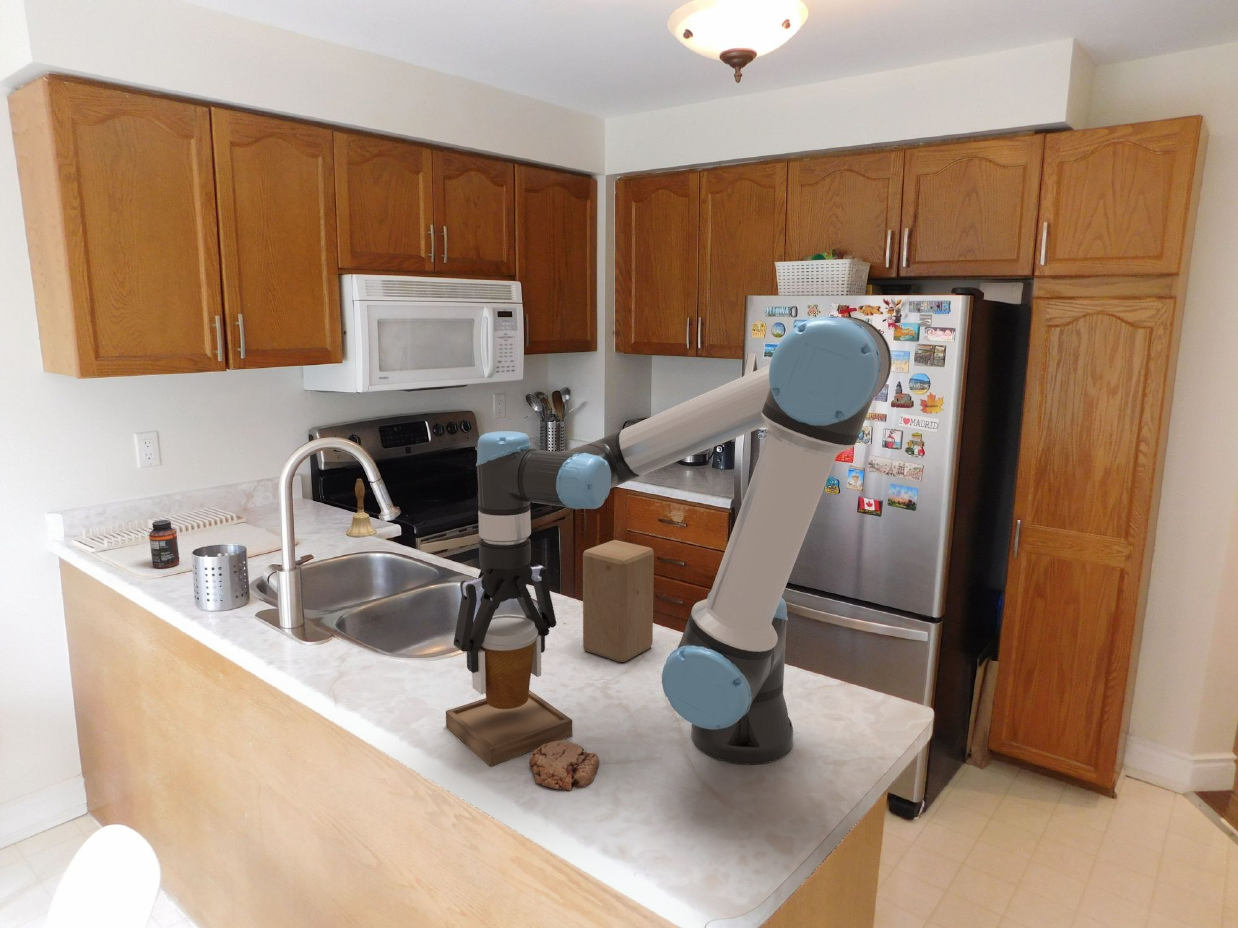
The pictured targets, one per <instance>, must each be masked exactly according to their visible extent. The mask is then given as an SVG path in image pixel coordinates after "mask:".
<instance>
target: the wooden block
mask: <svg viewBox="0 0 1238 928" xmlns="http://www.w3.org/2000/svg"><path fill="white" fill-rule="evenodd" d="M654 567H655V551H654V549H653V548H652V547H650V546H644V545H641V544H636V543H630V542H626V541H622V540H617V539H613V540H610V541H607V542H605V543H602V544H599V545H596V546H593V547H590V548H587V549H586V550H584V551H583V553H582V647H583V649H584V651H586V652H589V653H591V654H594V655H598V656H601V657H603V658H607V659H610V660H613V661H616V662H620V663H624V662H627V661H629V660H631V659H632V658H634V657H637V656H638V655H640V654H641V653H644V652H645V651H647V650H649V649H650V648H651V647H652V645H653V636H654V635H653V633H654V629H653V628H654V627H653V626H654V575H655V574H654V573H655V571H654V569H655V568H654Z"/></svg>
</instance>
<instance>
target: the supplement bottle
mask: <svg viewBox="0 0 1238 928" xmlns="http://www.w3.org/2000/svg"><path fill="white" fill-rule="evenodd" d="M151 525H152V530H151V531H149V533H148V536H149V544H150V545H149V547H150V552H151V554H150V555H151V562H152V567H153V568H155V569H160V568H161V569H170V568H173V567H175V566H178V565H179V564H180V552H179V545H178V536H177V530H176V529H175V528H173V527H172V522H171V520H169V519H159V520H155V521H153V522H152V524H151Z"/></svg>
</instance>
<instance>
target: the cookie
mask: <svg viewBox="0 0 1238 928" xmlns="http://www.w3.org/2000/svg"><path fill="white" fill-rule="evenodd" d="M600 761H601V760H600V758H599V756H598V755H597V753H596V752H595V753H594V752H588V751H587V750H585V749H584V747H583V746H582V745H580V744H578V743H574V742H571V741H569V740H557V741H553V742H550V743H547V744H543V745H541V746H540V747H538V748H537V749H535V750H533V752H532V755H531V756H530V757H529V762H528V763H529V767H530V768H531V770H532V772H533V774H534V778H535V779H534V780H535V782H536V784H538V785H542V786H545V787H548V788H551V789H555V790H563V791H566V790H567V791H569V792H570V791H573V789H574V788H573V787H577V788H582V787H583V788H584V787H585V786H589V785H590V784H591V783H592V782H593V781H594V778H595V776H596V775H597V774H598V773H597V772H598V767H599V764H600ZM584 785H585V786H584Z"/></svg>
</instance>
